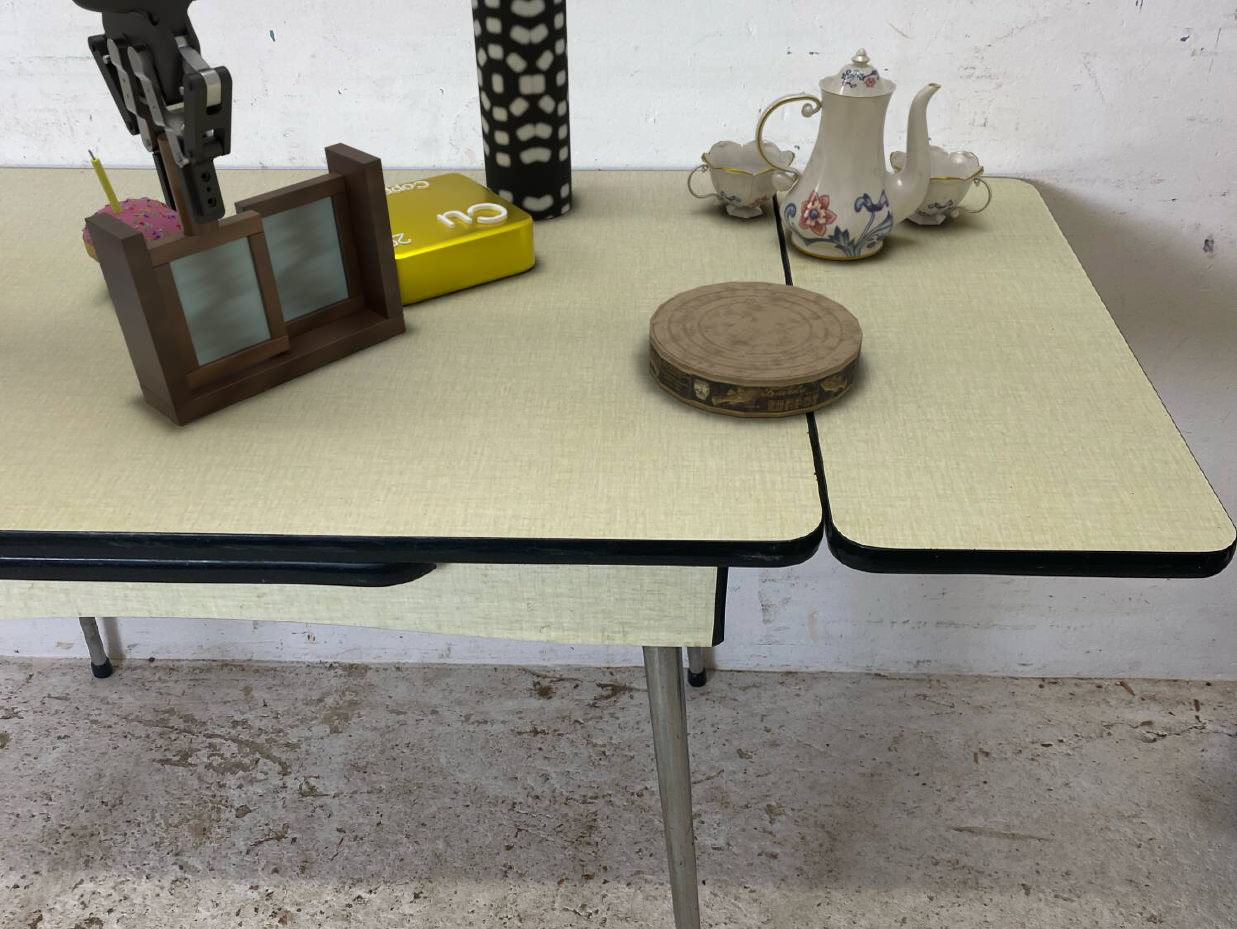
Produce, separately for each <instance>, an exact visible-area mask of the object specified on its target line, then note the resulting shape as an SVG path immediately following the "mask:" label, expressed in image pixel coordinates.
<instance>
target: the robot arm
mask: <svg viewBox="0 0 1237 929" xmlns="http://www.w3.org/2000/svg"><path fill="white" fill-rule="evenodd" d="M71 1H72V2H73V4H75V5H76V6H77V7H79V8H81V9H83V10H86V11H88V12H89V11H90V12H93V13H98V14H99V13H100V14H101V23H102V27H103V31H104V33H100V34H95V35H89V36H87V46H88V49H89V51H90V52H91V55H92V57H93V59H94V61H95V64H96V65H97V68H98V70H99V71H100V74H101V76H102V79H103V80H104V82H105V85H106V87H107V89H108V91H109V93H110V95H111V97H112V99H113V101H114V104H115V106H116V107H117V110H118V112H119V114H120V116H121V118H122V120H123V122H124V123H123V124H124V125H125V127H126V129H127V131H128V132H129V134H130V135H132V136H138V135H139V136H140V139H141V143H142V145H143V147H144V148H145V150H146V151H147V153H151V155H152V159H153V162H154V167H155V170H156V174H157V177H158V180H159V184H160V187H161V191H162V194H163V198H164V201H165V202H164V203H165V204H166V205H167V207H168V208H170V209H172V210H174V211H176V212H177V209H176V206H175V202H174V199H173V195H172V191H171V188H170V184H169V180H168V177H167V173H166V170H165V166H164V162H163V159H162V155H161V151H160V148H159V144H158V141H157V137H158V136H159V135H160V134H162V133H164V132H166V135H167V138H168V141H169V144H170V147H171V150H172V153H173V156H174V159H175V161H176V163H177V164H178V165H176V168H177V172H178V175H179V179H180V183H181V186H182V190H183V194H184V198H185V201H186V205H187V209H188V212H189V216H190V218H191V220H193V221H194V222H196V223H198V224H206V223H209V222H212V221H215V220H220V219H223V218H225V216H226V207H225V203H224V200H223V199H224V198H223V195H222V191H221V190H222V189H221V187H220V183H219V178H218V175H217V170H216V166H215V162H214V160H215V159H217V158H219V157H224V156H228V155H231V152H232V120H233V119H232V118H233V86H234V85H233V78H232V74H231V73H230V72H231V71H230V70H229V69H228V67H226V66H225V65H219V66H215V67H211V66H210V64H208V62H206V60H205V59H204V58H203V55H202V49H201V48H202V47H201V43H200V40H199V37H198V34H197V33H196V31H195V28H194V26H193V24H192V21H191V18H190V15H189V11H188V10H189V8H190V5H191V4H192V3H193V2H196V1H197V0H71ZM181 130H184V138H183V135H182V132H181Z"/></svg>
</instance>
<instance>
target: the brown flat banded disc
mask: <svg viewBox="0 0 1237 929" xmlns="http://www.w3.org/2000/svg"><path fill="white" fill-rule="evenodd" d="M863 339H864V333H863V331H862V327H861V325H860V322H859V319H858V318H857V317H856V316H855V315H854V314H853V313H851V311H850V310H848V309H847V307H845V306H844V305H843V304H841V303H839V302H838V301H835V300H834V299H832V298H830V297H828V296H825V295H824V294H822V293H819V292H815V291H813V290H810V289H809V290H808V289H805V288H801V287H799V286H795V285H789V284H782V283H774V282H768V281H725V282H719V283H712V284H705V285H701V286H698V287H695V288H691V289H688V290H685V291H682V292H679V293H677V294H674V295H673V296H672V297H670V298H669V299H667V300H666V301H664V302H663V303H661V304H659V306H657V308H656V309H655V311H654V313H653V314H652V315H651V317H650V319H649V341H648V342H649V344H648V346H649V349H648V351H649V352H648V353H649V354H648V358H649V359H648V361H649V362H648V363H649V373H650V374H651V376H652V377H653V379H654V380H655V381H656V383H657V384H658V386H659V387H660V388H661V389H662V390H664V391H666V392H667V393H668V394H669V395H671V396H673V397H674V398H675V399H677V400H679V401H680V402H682V403H686V404H688V405H690V406H693V407H696V408H698V409H702V410H705V411H707V412H710V413H716V414H720V415H721V414H722V415H726V416H727V415H728V416H733V417H739V418H783V417H788V416H789V417H790V416H795V415H799V414H801V415H802V414H805V413H811V412H813V411H815V410H818V409H820V408H823V407H825V406H826V407H827V405H831V404H833V403H835V402H837V401H838V400H839V399H840V398H842V396H844V395H845V394H846V393H847V392H848V391H849V390H851V389H852V388H853V385H854V382H855V379H856V376H857V373H858V369H859V363H860V356H861V351H862V350H861V349H862V344H863Z"/></svg>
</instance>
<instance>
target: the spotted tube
mask: <svg viewBox="0 0 1237 929" xmlns="http://www.w3.org/2000/svg"><path fill="white" fill-rule="evenodd" d="M470 2H471V3H470V4H471V16H472V28H473V40H474V52H475V61H476V62H475V64H476V75H477V76H476V78H477V89H478V100H479V112H480V113H479V114H480V124H481V125H480V126H481V138H482V149H483V161H484V172H485V174H484V175H485V185H486V186H485V187H486V188H487V189H489V190H490V191H492V192H494V193H495V194H497V195H499V196H500V197H502V198H503V199H505V200H507V201H508V202H510V203H512V204H513V205H515V206H516V207H518V208H520V209H521V210H523V211H525V212H526V213H528V214H529V215H530V216H531V217H532V220H533V221H541V220H547V219H551V218H556V217H558V216H562V215H563V214H565V213H567V212H568V211H569V210H570V209H571V208H572V207H573V187H572V186H573V182H572V181H573V178H572V148H571V146H572V145H571V115H570V114H571V113H570V82H569V48H568V17H567V16H568V15H567V13H568V12H567V0H470Z"/></svg>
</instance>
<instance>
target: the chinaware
mask: <svg viewBox="0 0 1237 929" xmlns="http://www.w3.org/2000/svg"><path fill="white" fill-rule="evenodd" d="M870 61H871V58H870V57H869V55H868V53H867V51H866V49H865V48H862V47H861V48H859V49H858V50H857V51H856V53H855V54H854V55H853V56H852V57H851V62H852V63H848V64H846V65H844V66H842V67H841V68H840V69H839V71H838V73H837V74H834V75H827V76H825V77H824V78H822V79H819V81H818V87H819V88H820V97H821V99H819V98H818V97H817V96H816V95H814V94H812V93H807V92H805V93H801V92H799V93H790V94H786V95H782V96H780V97H778V98H776V99H775V100H773V101H771V103H770V104H769V105H767V106H766V107H765V109H764V110H763V112H762V113H761V115H760V116H759V119H758V121H757V123H756V127H755V134H754V140H751V141H748V142H747V143H743V144H740V143H737V142H735V141H732V140H720V141H718V142H716V143H714V144H712V146H711V148H710V149H709V151H708V152H705V151H704V152H702V155H701V156H700V159H701V161H702V163H701V164H697V165H695V166H694V167H693V168H692V169H691V170H690V172H689V174H688V177H687V182H686V183H687V189H688V191H689V193H690V194H691V195H692V196H693V197H695V198H696V199H700V200H701V199H706V198H708V197H715V198H716V199H715V200H714V203H713V205H714V206H715V207H720V206H721V205H722V204H723V202H725V203H727V204H728V205H726V206H725V208H726V212H727V213H728V215H729V216H734V217H738V218H745V219H749V218H752V217H757V216H759V215H763V211H762V208H760V206H762V205H764V204H765V203H767V202H768V201H770V200H772V198H773V197H774V196H775V195H776V194H777V192H778V191H779V192H781V193H782V192H783V193H784V192H787V194H786V195H785V197H784V198H783V200H782V202H781V204H780V206H779V215H780V218H781V219H782V221H783V223H784V225H785V226H786V228H788V229H789V230H790V231H791V234H790V243H791V244H792V245H793V247H795V249H797V250H798V251H800V252H801V253H803V254H805V255H809V256H812V257H814V258H815V257H816V258H819V259H824V260H831V261H853V260H861V259H865V258H868V257H871V256H874V255H876V254H877V253H879V252H880V251H881V250H882V248H883V247H884V241H883V240H884V239H885V238H886V237H887V236H888V235H890V233H891V232H892V230H893V228H894V227H896V226H897V225H899V224H900V223H901V222H903V221H904V220H905V219H908V220H910V221H911V222H914V223H916V224H917V225H941V223H943V221H944V220H945V219H946V215H945V213H947V212H949V216H950V217H951V218H953V219H956V218H958V217H959V215H960V213H959V210H958V209H960V210H963V211H966V212H967V213H970V214H979V213H981V212H983V211H985V210H986V209H987V208H988V206H989V205H990V204H991V201H992V198H993V190H992V186H991V184H990V183H989V182H988V181H987V180H986V179H984V178H983V177H982V178H981V176H982V175H983V174H984V172H985V168H984V165H980V161H979V157H978V156H977V155H975V154H974V153H973V152H972V151H966V150H960V151H959V150H958V151H953V152H950V153H949V151H946V150H945V149H943V148H941V147H940V146H938V145H932V144H930V138H929V129H928V120H927V109H928V105H929V103H930V100H931V99H932V97H934V95H935V94H936V93H937V92H938V91H939V90H940V89H941V88H942V85H941V84H939V83H936V82H935V83H934V82H931V83H928V84H926V85H925V86H924V87H923V88H921V89H920V90H919V91H918V92H916V94H915V96H914V97H913V99H912V102H911V103H910V107H909V111H908V116H907V126H906V143H905V144H906V145H905V149H906V150H905V152H904V151H901V150H896V151H892V152H890V154H889V164H890V166H891V169H892V170H893V173H891V172H889V171H888V170H887V166H886V156H885V144H884V141H885V140H884V138H885V135H884V134H885V125H886V124H885V123H886V117H887V111H888V107H889V105H890V101H891V99H892V97H893V94H894V92H895V91H896V90H897V84H896V83H894V82H893V81H892V80H891V79H887V78H884V77H882V76H880V73H879V70H878V69H877V68H876V67H875V66H874V65H872V64H869V62H870ZM801 101H811V102H813V103H815V105H816V106H815V108H813V105H812V104H811V103H810V102H806V103H804V104H803V106H802V108H801V112H800V113H801V115H802V117H803V118H806V119H809V118H811V117H812V116H813V115H815V114H817V113H819V112H820V111H821V113H820V120H819V126H818V132H817V136H816V140H815V143H814V145H813V148H812V151H811V154H810V155H809V159H808V161H807V163H806V165H805V167H804V168H803V171H802V173H801V172H800V170H799V169H798V168H796V167H794V166H791V165H792V163H793V162H794V161H795V158H796V153H795V152H793V151H792V150H781V149H780V148H779V147H778V145H776V144H775V143H774V142H771V141H768V140H766V139H763V130H764V127H765V124H766V122H767V120H768V118H769V117H770V115H772V114H773V113H774V112H775V111H776V110H777V109H778V108H779V107H781V106H783V105H785V104H788V103H793V102H801ZM698 169H701V173H702V174H705V173H706V171H707V170H708V171H709V175H710V179H711V183H712V186H713V188H714V191H715V192H716V193H715V192H709V193H706V194H697V193H696V192H695V191H694V190H693V189H692V186H691V179H692V176H693V174H694V173H695V172H696V171H697V170H698ZM787 173H791V174H793V176H792V177H791V176H790V175H789V174H787ZM981 183H982V184H984V186H985V187H986V189H987V193H988V198H987V201H986V203H985V204H984V205H983V206H982V207H980V208H978V209H971V208H968V207H967V206H965V205H959V204H960V203H961V202H962V201H963V200H964V198H965V197H966V195H967V194H968V192H969V191H970V188H971V186H972V185H973V184H974V185H975V187H976V188H977V187H979V186H980V185H981Z"/></svg>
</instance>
